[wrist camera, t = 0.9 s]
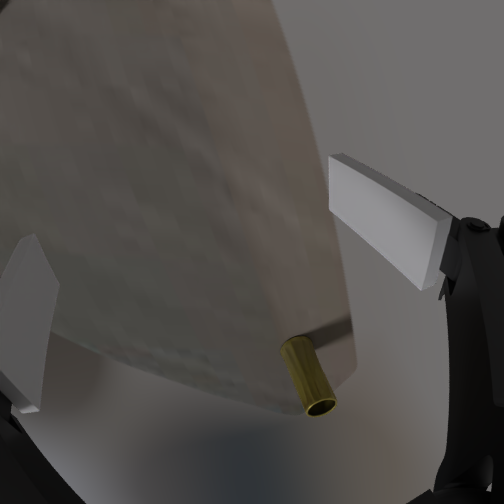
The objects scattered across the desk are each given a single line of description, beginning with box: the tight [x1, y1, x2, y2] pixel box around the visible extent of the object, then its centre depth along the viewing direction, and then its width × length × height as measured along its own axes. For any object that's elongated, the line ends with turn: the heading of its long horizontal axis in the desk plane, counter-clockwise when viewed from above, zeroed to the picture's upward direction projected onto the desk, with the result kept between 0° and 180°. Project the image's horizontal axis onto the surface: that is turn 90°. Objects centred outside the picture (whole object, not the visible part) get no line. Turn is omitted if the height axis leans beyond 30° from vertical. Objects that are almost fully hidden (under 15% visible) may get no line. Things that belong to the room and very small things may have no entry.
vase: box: [280, 336, 337, 417], centre depth 52 cm, size 6×6×14 cm
